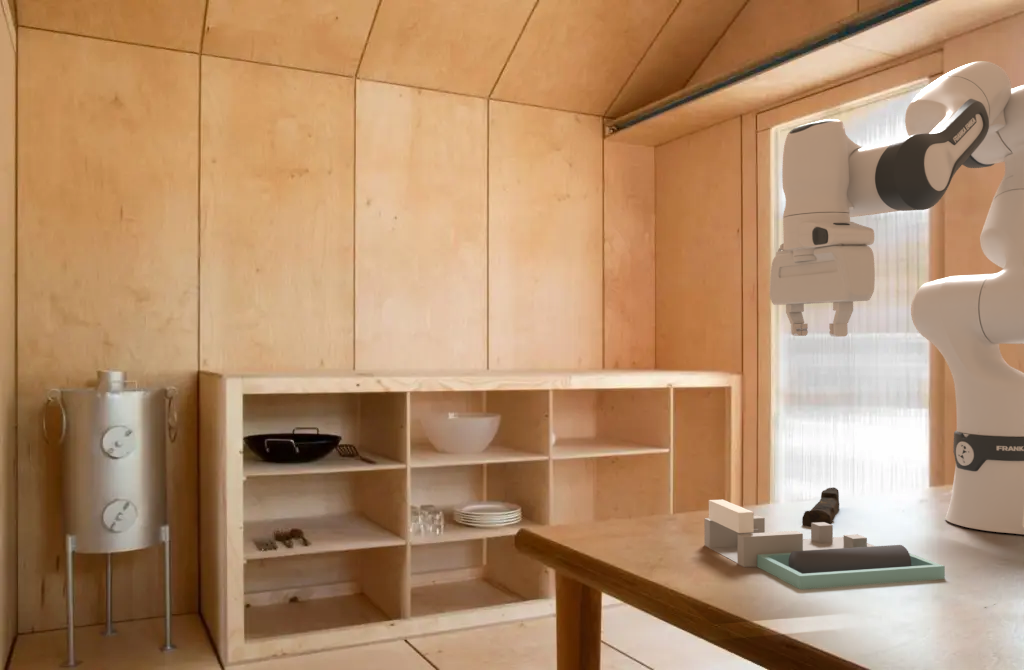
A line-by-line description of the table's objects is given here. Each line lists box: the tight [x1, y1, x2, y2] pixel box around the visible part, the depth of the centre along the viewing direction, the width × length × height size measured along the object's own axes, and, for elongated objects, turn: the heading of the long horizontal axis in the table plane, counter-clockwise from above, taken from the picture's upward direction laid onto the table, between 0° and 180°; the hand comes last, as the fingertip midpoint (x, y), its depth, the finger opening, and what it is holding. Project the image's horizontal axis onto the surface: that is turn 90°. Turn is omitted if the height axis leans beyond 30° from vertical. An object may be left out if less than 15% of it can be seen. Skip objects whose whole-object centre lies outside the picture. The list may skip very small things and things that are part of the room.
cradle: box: [703, 515, 875, 568], centre depth 112 cm, size 22×11×5 cm, turn 102°
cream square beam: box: [708, 499, 755, 533], centre depth 110 cm, size 2×8×2 cm, turn 12°
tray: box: [756, 552, 946, 590], centre depth 102 cm, size 19×10×3 cm, turn 103°
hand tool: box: [802, 487, 840, 528], centre depth 134 cm, size 19×4×5 cm, turn 149°
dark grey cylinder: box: [789, 544, 911, 574], centre depth 102 cm, size 14×4×4 cm, turn 102°
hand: (818, 336), depth 120 cm, fingers open, 8 cm apart
